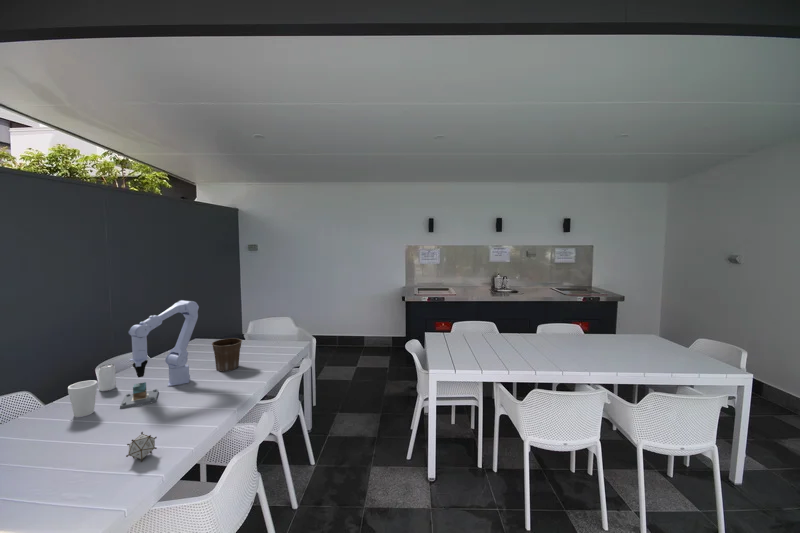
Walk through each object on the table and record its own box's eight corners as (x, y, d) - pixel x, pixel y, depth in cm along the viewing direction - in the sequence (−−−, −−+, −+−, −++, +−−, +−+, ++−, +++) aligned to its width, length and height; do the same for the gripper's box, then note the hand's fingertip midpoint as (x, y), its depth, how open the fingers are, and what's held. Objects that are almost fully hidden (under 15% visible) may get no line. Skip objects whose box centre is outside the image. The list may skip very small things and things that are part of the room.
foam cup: (103, 410, 150) (102, 381, 149) (78, 420, 141) (76, 390, 140) (89, 407, 153) (88, 379, 152) (64, 416, 144) (62, 387, 143)
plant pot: (244, 369, 201) (244, 342, 200) (214, 375, 192) (213, 347, 191) (240, 361, 214) (239, 336, 213) (211, 366, 205) (210, 340, 204)
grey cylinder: (106, 392, 168) (105, 368, 168) (95, 391, 170) (94, 367, 169) (119, 387, 175) (118, 364, 174) (109, 385, 176) (108, 363, 175)
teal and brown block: (146, 394, 163) (146, 382, 163) (145, 397, 160) (144, 385, 159) (134, 396, 161) (134, 384, 161) (133, 400, 157) (132, 387, 157)
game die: (140, 465, 118) (140, 435, 122) (163, 456, 118) (163, 426, 123) (118, 468, 110) (119, 436, 114) (143, 458, 110) (143, 426, 115)
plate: (158, 391, 169) (158, 388, 169) (155, 401, 158) (155, 398, 158) (125, 397, 163) (125, 393, 162) (120, 408, 151) (119, 404, 151)
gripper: (131, 346, 168) (132, 373, 169) (126, 354, 156) (128, 383, 156) (149, 344, 172) (150, 370, 172) (145, 352, 159) (146, 380, 160)
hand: (140, 376), depth 165 cm, fingers closed
